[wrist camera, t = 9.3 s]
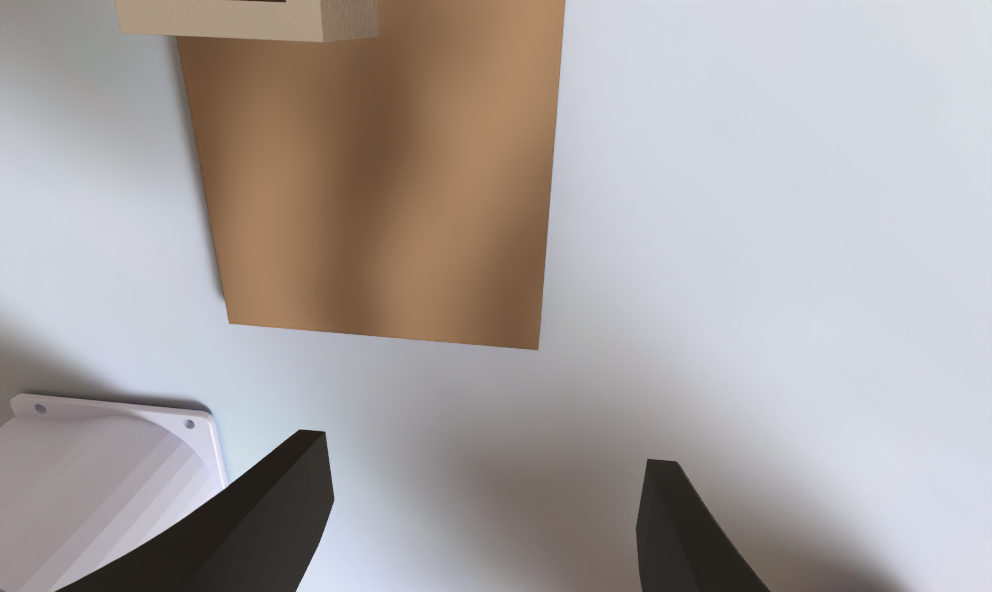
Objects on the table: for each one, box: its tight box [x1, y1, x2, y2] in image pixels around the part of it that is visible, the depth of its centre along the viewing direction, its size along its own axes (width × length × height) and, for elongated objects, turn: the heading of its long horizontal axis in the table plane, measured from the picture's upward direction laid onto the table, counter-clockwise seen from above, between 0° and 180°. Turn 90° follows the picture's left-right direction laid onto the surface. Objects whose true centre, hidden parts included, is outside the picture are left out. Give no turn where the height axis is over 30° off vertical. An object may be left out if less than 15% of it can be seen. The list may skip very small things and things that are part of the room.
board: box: [177, 0, 565, 350], centre depth 19 cm, size 12×18×1 cm, turn 178°
